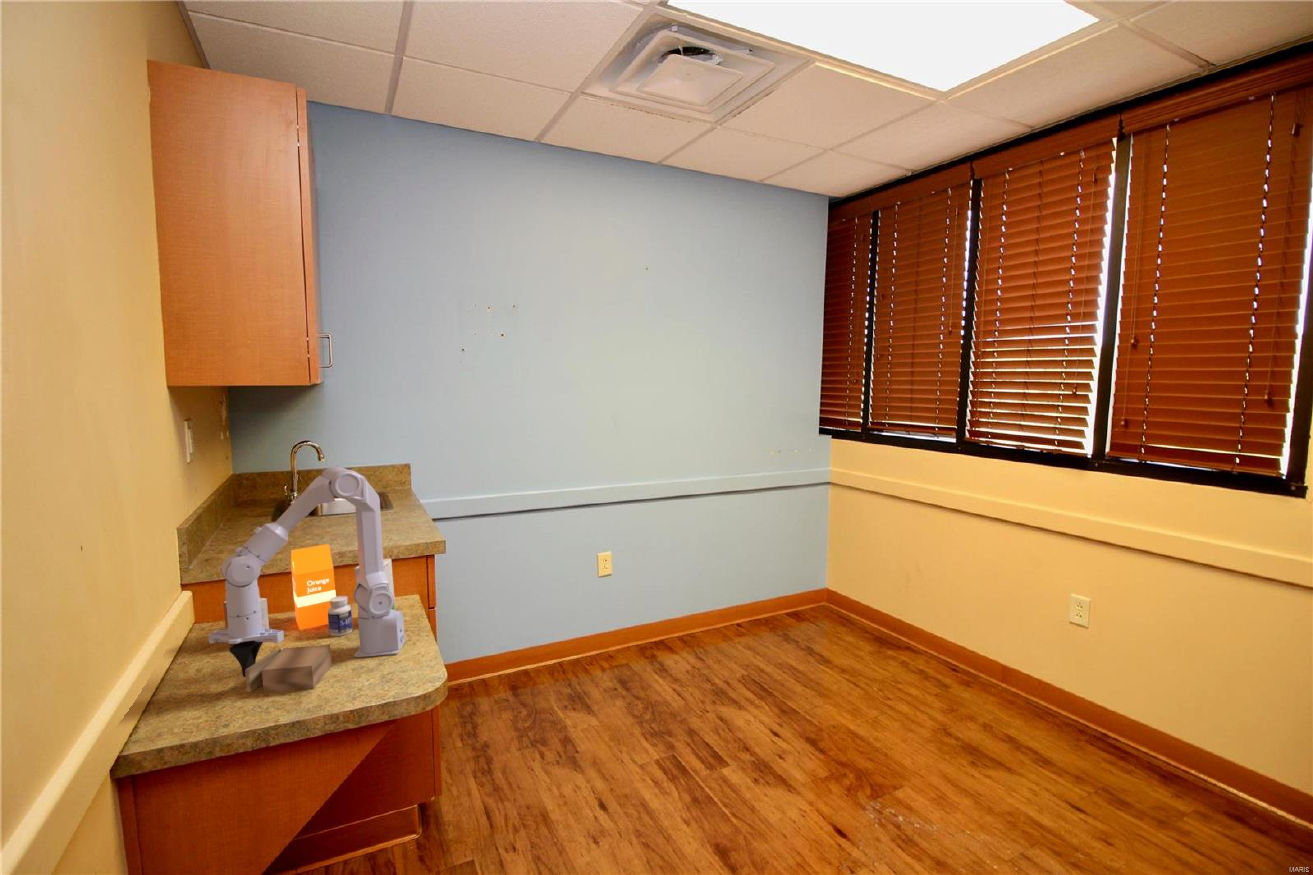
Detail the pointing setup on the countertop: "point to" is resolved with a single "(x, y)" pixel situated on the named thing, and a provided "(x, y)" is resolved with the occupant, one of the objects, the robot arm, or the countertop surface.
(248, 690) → the door
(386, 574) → the skincare box
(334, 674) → the countertop surface
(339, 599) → the pill bottle
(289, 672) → the cabinet
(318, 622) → the orange juice
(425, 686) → the countertop surface
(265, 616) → the small box
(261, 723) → the countertop surface
